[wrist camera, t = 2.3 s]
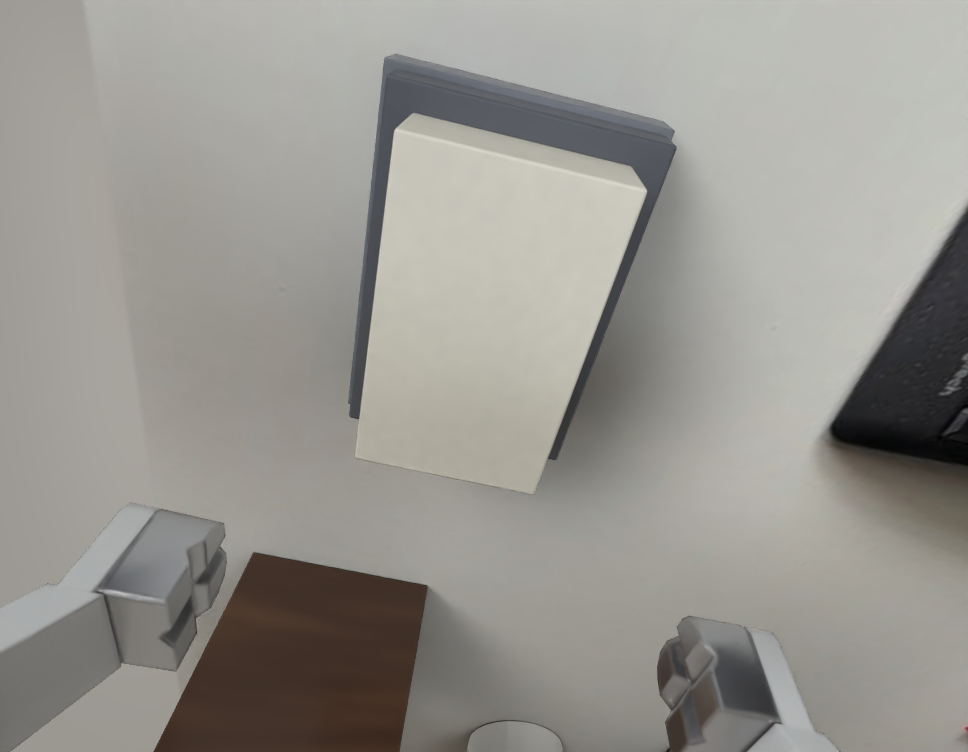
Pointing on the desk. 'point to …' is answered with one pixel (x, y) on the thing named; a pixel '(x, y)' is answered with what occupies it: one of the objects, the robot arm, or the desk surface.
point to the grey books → (518, 117)
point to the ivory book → (486, 298)
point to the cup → (513, 738)
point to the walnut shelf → (303, 664)
